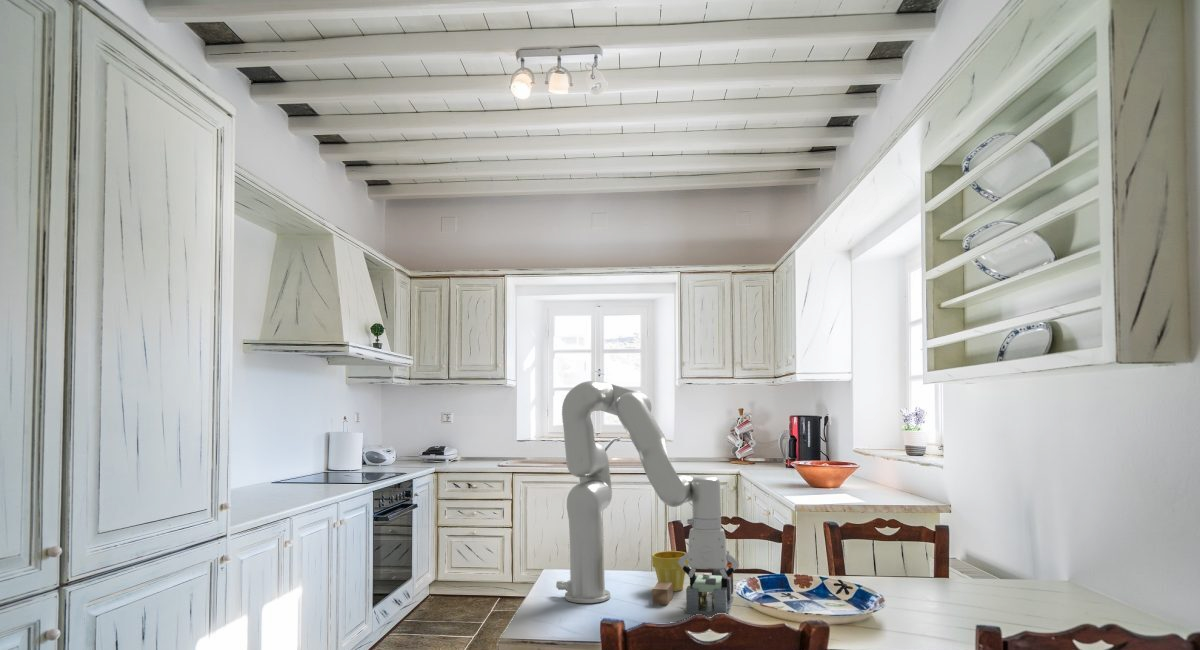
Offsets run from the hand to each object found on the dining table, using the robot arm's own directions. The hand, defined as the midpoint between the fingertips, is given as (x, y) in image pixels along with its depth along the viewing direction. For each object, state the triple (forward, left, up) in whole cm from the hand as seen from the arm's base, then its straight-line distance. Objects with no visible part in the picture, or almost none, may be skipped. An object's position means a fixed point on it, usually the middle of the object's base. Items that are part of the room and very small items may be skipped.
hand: (709, 592), depth 202 cm
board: (0, 0, +1) cm, 1 cm away
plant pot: (-13, +16, -4) cm, 21 cm away
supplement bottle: (+2, +15, -4) cm, 16 cm away
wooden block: (-13, +3, -4) cm, 14 cm away
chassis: (0, 0, -4) cm, 4 cm away
